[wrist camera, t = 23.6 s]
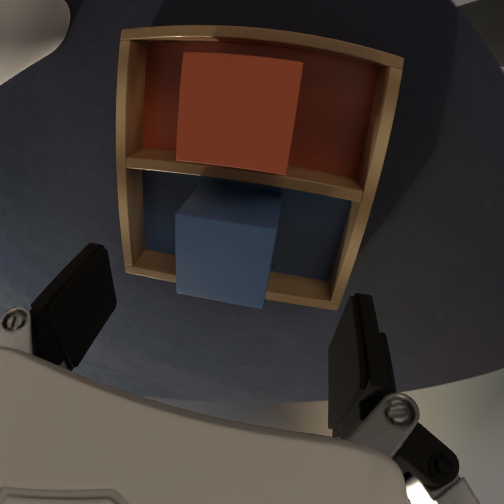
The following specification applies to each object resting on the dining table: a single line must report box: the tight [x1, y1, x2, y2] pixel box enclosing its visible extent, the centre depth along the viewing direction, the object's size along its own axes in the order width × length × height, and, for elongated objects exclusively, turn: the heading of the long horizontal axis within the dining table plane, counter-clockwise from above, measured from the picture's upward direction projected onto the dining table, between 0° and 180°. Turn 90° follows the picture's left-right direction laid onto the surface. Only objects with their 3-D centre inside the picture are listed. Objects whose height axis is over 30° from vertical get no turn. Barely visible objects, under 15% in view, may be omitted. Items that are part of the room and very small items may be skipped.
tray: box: [116, 25, 404, 310], centre depth 16 cm, size 14×13×3 cm
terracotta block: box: [176, 52, 304, 175], centre depth 13 cm, size 4×4×4 cm
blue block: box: [175, 181, 282, 309], centre depth 16 cm, size 4×4×4 cm
